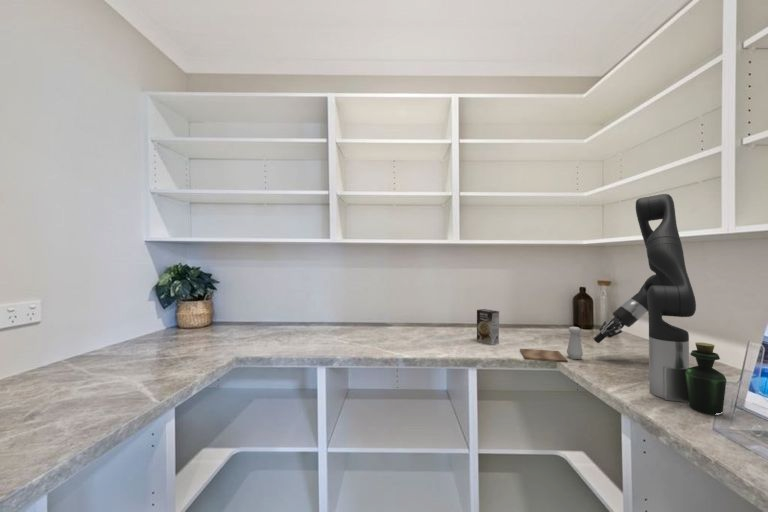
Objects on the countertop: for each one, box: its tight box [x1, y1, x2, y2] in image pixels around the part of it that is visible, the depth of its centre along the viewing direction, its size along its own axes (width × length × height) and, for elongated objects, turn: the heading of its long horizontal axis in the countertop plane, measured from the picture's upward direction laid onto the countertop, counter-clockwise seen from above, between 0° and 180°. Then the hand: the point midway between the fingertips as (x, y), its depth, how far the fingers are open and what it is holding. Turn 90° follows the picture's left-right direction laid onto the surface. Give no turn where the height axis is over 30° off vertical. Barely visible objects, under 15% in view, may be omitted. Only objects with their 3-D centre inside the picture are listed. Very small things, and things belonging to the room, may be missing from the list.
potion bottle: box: [685, 342, 727, 416], centre depth 90 cm, size 8×8×18 cm
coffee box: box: [476, 308, 500, 346], centre depth 163 cm, size 9×6×16 cm
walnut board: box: [519, 348, 569, 363], centre depth 140 cm, size 16×14×1 cm
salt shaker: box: [566, 326, 584, 360], centre depth 137 cm, size 6×6×13 cm
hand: (595, 341), depth 135 cm, fingers closed
